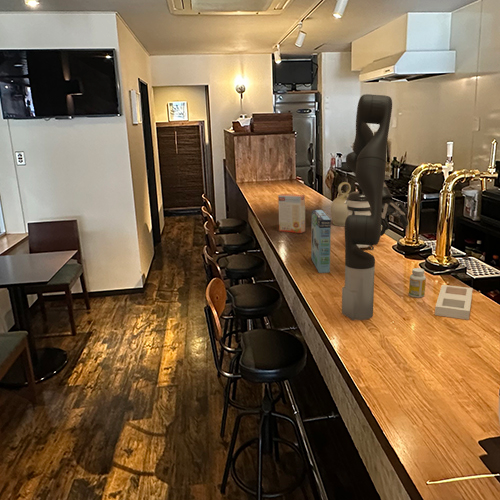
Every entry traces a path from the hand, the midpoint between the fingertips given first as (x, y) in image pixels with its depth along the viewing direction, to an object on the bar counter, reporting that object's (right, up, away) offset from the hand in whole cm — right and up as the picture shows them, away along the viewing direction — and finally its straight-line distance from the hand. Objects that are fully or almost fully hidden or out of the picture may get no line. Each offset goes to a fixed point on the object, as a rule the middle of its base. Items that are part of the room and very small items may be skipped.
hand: (397, 227), depth 170 cm
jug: (+1, +7, +105) cm, 105 cm away
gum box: (-23, -15, +32) cm, 43 cm away
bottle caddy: (+15, -27, -14) cm, 34 cm away
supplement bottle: (+6, -25, -4) cm, 26 cm away
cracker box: (-30, +2, +93) cm, 98 cm away
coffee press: (+1, -7, +57) cm, 57 cm away
